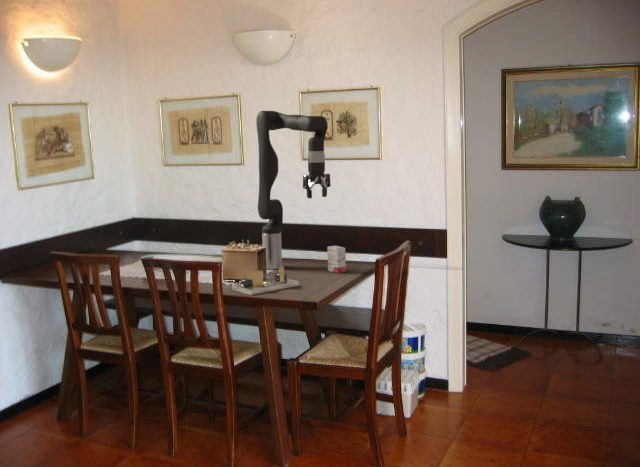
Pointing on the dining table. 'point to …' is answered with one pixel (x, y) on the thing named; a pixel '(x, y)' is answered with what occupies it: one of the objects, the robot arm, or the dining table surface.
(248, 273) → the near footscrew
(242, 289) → the levelling plate
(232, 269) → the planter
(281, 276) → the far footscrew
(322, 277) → the dining table surface
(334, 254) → the ink box
